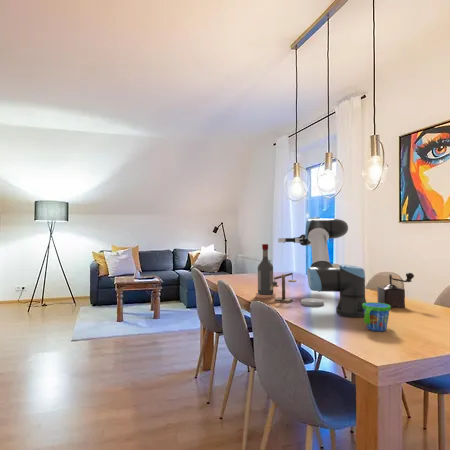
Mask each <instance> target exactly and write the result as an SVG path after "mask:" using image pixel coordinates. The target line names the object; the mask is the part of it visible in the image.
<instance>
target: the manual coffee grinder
mask: <svg viewBox="0 0 450 450" xmlns="http://www.w3.org/2000/svg"><path fill="white" fill-rule="evenodd" d="M405 276H406V279H405V280H403V279H399V278H393V275H392V274H389V277H388V279H389V284H386V285H384V286H377V291H376V292H377V295H376V296H377V303H384V304H388V305H390V306H391V308H393V309H398V308H406V303H405V302H406V298H405V296H406V295H405V291H406V290H405V289H404V288H400V287H399V286H397V285H395V284H393V283H392V281H398V282H401V283H402V282H403V283H411V282H412V281H413V280H412V279H414V277H415V274H414V273H412V272H407V273H405Z"/></svg>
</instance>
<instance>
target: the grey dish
mask: <svg viewBox="0 0 450 450" xmlns="http://www.w3.org/2000/svg"><path fill="white" fill-rule="evenodd" d="M324 302H325V301H324V300H323V299H321V298H313V297H311V298H308V297H307V298H302V299H301V300H300V303H301V304H300V305H301V306H304V307H310V308H311V307H312V308H314V307H315V308H316V307H317V308H318V307H324V305H325V304H324Z"/></svg>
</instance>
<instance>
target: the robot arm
mask: <svg viewBox="0 0 450 450" xmlns="http://www.w3.org/2000/svg"><path fill="white" fill-rule="evenodd" d="M348 231H349V225H348V223H347V222H346V221H345V220H342V219H340V218H339V219H338V218H321V217H320V216H311V217H309V218H308V219H307V220H306V222H305V231H304V232H305V233H304V234H301V235H299V236H297V237H280V238H279V237H278V239H277V242H278V243H283V244H285V243H295V244H300V245H301V246H308V247H311V259H312V260H311V261H312V263H311V265H310V266H309V267H308V268H307V273H306V275H307V283H308V287H309V289H310V291H313V292H319V293H320V292H323V293H325V292H327V293H328V292H333V293H334V292H335V293H338V292H339V299H338V301H337V304H336V308H335V313H336V314H337V315H339V316H343V317H347V318H364V316H365V314H364V309H363V307H362V304H363V303H368V302H367V299H366V273H365V270H364V268H362V267H360V266H356V265H350V264H339V266H338V267H334V266H333V264H332V263H331V262H330V255H329V249H328V248H329V247H328V240H329V239H330V240H331V239H333V240H334V239H338V238H339V239H340V238H342V237H344V236H345V235H347V233H348Z"/></svg>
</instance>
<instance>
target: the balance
mask: <svg viewBox="0 0 450 450" xmlns="http://www.w3.org/2000/svg"><path fill="white" fill-rule="evenodd" d="M289 276H291V279H288V280H287V281H288V283H296V282H297V280H296V279H293V278H294V277H293V276H294V273H293V272H289V273H282V274H281V275H278V276H273V285H271V287H273V288H278V287H279V286H280V285H279V284H278V281H276V280H278V279H281V297H280V296H279V297H276V298H273V302H277V303H283V304H284V303H285V304H290V303H292V302H294V298H289V297H286V277H289Z"/></svg>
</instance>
